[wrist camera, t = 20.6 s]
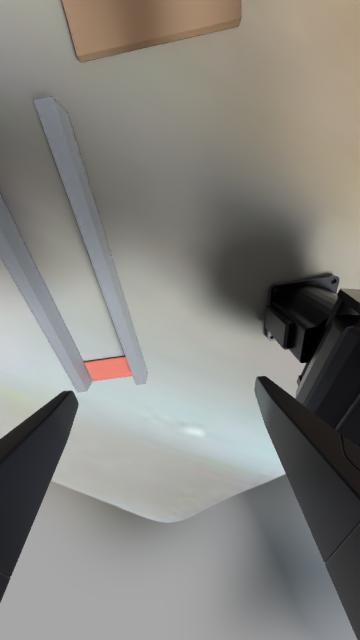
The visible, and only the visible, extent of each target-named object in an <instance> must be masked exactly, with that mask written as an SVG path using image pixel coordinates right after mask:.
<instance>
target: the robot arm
mask: <svg viewBox="0 0 360 640" xmlns="http://www.w3.org/2000/svg"><path fill="white" fill-rule="evenodd" d="M333 279H334V280H333ZM332 280H333V282H331V281H332ZM338 284H339V277H337V276H334V275H331V276H324V277H318V278H311V279H305V280H298V281H292V282H285V283H279V284H274V285H272V286H271V287H270V289H269V301H268V306H267V307H266V319H265V328H266V329H267V334H266V336H267V338H268V339H269V340H270V341H274V340H276V341H277V342H278V343H279V344H280V345H281V347H282V348H284V349H285V350H286V349H289V350H290V351H291V352H292V354H293V355H294V356H295V357H296V358H297V359H298V360H299V361H300V362H301V363H306V366H305V368H304V370H303V372H302V374H301V375H300V376H299V377H298V379H297V384H298V388H297V391H296V399H295V398H294V397H292V396H291V395H290V394H288V393H287V392H286V391H284V390H283V389H282V388H280V387H279V386H278V385H277V384H275V383H274V382H273V381H271V380H270V379H269V378H267V377H266V376H259V377H257V378H256V382H255V394H256V398H257V401H258V404H259V407H260V410H261V414H262V417H263V420H264V423H265V426H266V428H267V431H268V433H269V436H270V438H271V440H272V443H273V445H274V447H275V449H276V452H277V454H278V456H279V459H280V461H281V463H282V466H283V468H284V470H285V473H286V475H287V477H288V479H289V482H290V484H291V486H292V489H293V491H294V493H295V496H296V498H297V500H298V503H299V505H300V507H301V509H302V512H303V514H304V517H305V519H306V521H307V524H308V526H309V528H310V530H311V533H312V535H313V537H314V540H315V542H316V544H317V546H318V549H319V551H320V554H321V556H322V558H323V561H324V562H325V566H326V568H327V570H328V572H329V575H330V577H331V579H332V582H333V584H334V586H335V589H336V591H337V593H338V596H339V598H340V600H341V603H342V605H343V607H344V610H345V612H346V614H347V616H348V619H349V621H350V623H351V626H352V628H353V630H354V633H355V635H356V637H357V639H358V640H360V290H355V289H340V290H339V292H338V293H336V292H337V288H338ZM275 288H277V290H276V291H274V289H275ZM271 335H272V337H270V336H271ZM77 408H78V400H77V398H76V396H75V394H74V392H73V391H63V392H61V393H60V394H59V395H58V396H56V397H55V398H54V399H52V400H51V401H50V402H48V403H47V404H46V405H44V406H43V407H42V408H40V409H39V410H38V411H37V412H35V413H34V414H33V415H31V416H30V417H29V418H27V419H26V420H25V421H23V422H22V423H21V424H19V425H18V426H17V427H16V428H14V429H13V430H12V431H10V432H9V433H8V434H6V435H5V436H4V437H2V438H1V439H0V602H1V600H2V597H3V595H4V592H5V590H6V588H7V585H8V583H9V580H10V576H11V575H12V572H13V570H14V568H15V565H16V563H17V561H18V558H19V556H20V554H21V551H22V548H23V546H24V544H25V541H26V539H27V537H28V534H29V532H30V529H31V527H32V525H33V522H34V520H35V517H36V515H37V513H38V510H39V508H40V505H41V503H42V500H43V498H44V496H45V493H46V491H47V488H48V486H49V483H50V481H51V479H52V476H53V474H54V472H55V469H56V467H57V464H58V462H59V459H60V457H61V455H62V452H63V450H64V447H65V445H66V443H67V440H68V437H69V434H70V431H71V428H72V425H73V421H74V418H75V415H76V412H77Z"/></svg>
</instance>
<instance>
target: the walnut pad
mask: <svg viewBox="0 0 360 640" xmlns="http://www.w3.org/2000/svg"><path fill="white" fill-rule="evenodd" d="M62 2H63V5H64V9H65V13H66V17H67V20H68V24H69V28H70V32H71V35H72V39H73V43H74V47H75V50H76V54H77V57H78V59H79V60H80V62H84V61H88V60H93V59H97V58H101V57H106V56H110V55H115V54H119V53H123V52H128V51H132V50H136V49H141V48H145V47H150V46H154V45H158V44H163V43H167V42H171V41H176V40H180V39H185V38H189V37H193V36H198V35H202V34H207V33H211V32H215V31H220V30H224V29H228V28H233V27H237V26H239V24H240V20H241V0H62Z"/></svg>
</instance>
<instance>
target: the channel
mask: <svg viewBox="0 0 360 640" xmlns="http://www.w3.org/2000/svg"><path fill="white" fill-rule="evenodd" d="M33 101H34V104H35V107H36V110H37V112H38V115H39V118H40V121H41V124H42V126H43V129H44V132H45V135H46V137H47V140H48V143H49V146H50V148H51V151H52V154H53V157H54V160H55V162H56V165H57V168H58V171H59V173H60V176H61V179H62V182H63V184H64V187H65V190H66V193H67V196H68V198H69V201H70V204H71V207H72V209H73V212H74V215H75V218H76V220H77V223H78V226H79V229H80V232H81V234H82V237H83V240H84V243H85V245H86V248H87V251H88V254H89V257H90V259H91V262H92V265H93V268H94V270H95V273H96V276H97V279H98V281H99V284H100V287H101V290H102V293H103V295H104V298H105V301H106V304H107V306H108V309H109V312H110V315H111V317H112V320H113V323H114V326H115V329H116V331H117V334H118V337H119V340H120V342H121V345H122V348H123V351H124V353H125V356H123V357H116V358H109V359H102V360H95V361H88V362H84V361H83V359H82V357H81V355H80V353H79V351H78V349H77V347H76V345H75V343H74V341H73V339H72V337H71V335H70V333H69V331H68V329H67V327H66V325H65V323H64V321H63V319H62V317H61V315H60V313H59V311H58V309H57V307H56V305H55V303H54V301H53V299H52V297H51V295H50V293H49V291H48V289H47V287H46V285H45V283H44V281H43V279H42V277H41V275H40V273H39V271H38V269H37V267H36V265H35V262H34V260H33V258H32V256H31V254H30V252H29V250H28V248H27V246H26V244H25V242H24V240H23V238H22V236H21V234H20V232H19V230H18V228H17V226H16V224H15V222H14V220H13V218H12V216H11V214H10V212H9V210H8V208H7V206H6V204H5V202H4V200H3V198H2V196H1V194H0V257H1V259H2V261H3V263H4V264H5V266H6V268H7V270H8V271H9V273H10V275H11V277H12V278H13V280H14V282H15V284H16V285H17V287H18V289H19V291H20V292H21V294H22V296H23V298H24V299H25V301H26V303H27V305H28V307H29V308H30V310H31V312H32V314H33V315H34V317H35V319H36V321H37V322H38V324H39V326H40V328H41V329H42V331H43V333H44V335H45V336H46V338H47V340H48V342H49V343H50V345H51V347H52V349H53V350H54V352H55V354H56V356H57V357H58V359H59V361H60V363H61V364H62V366H63V368H64V370H65V372H66V373H67V375H68V377H69V379H70V380H71V382H72V384H73V386H74V387H75V389H76V391H77V393H78V392H85V391H87V390H88V388H89V387H90V385H91V383H92V381H98V380H106V379H113V378H121V377H128V376H133V378H134V381H135V384H136V385H139V384H146V380H147V374H148V372H147V369H146V365H145V362H144V359H143V356H142V353H141V349H140V346H139V343H138V340H137V336H136V333H135V330H134V327H133V323H132V320H131V317H130V314H129V310H128V307H127V304H126V301H125V298H124V294H123V291H122V288H121V285H120V281H119V278H118V275H117V272H116V268H115V265H114V262H113V259H112V255H111V252H110V249H109V246H108V243H107V239H106V236H105V233H104V230H103V226H102V223H101V220H100V217H99V213H98V210H97V207H96V204H95V200H94V197H93V194H92V191H91V188H90V184H89V181H88V178H87V175H86V171H85V168H84V165H83V162H82V158H81V155H80V152H79V149H78V145H77V142H76V139H75V136H74V133H73V129H72V126H71V123H70V120H69V116H68V113H67V111H66V110H65V109H64V108H63V107H62V106H61V105H60V104H59V103H58V102H57V101H56V100H55V99H54V98H53V97H52V96H50V97H45V98H41V99H36V100H33Z"/></svg>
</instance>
